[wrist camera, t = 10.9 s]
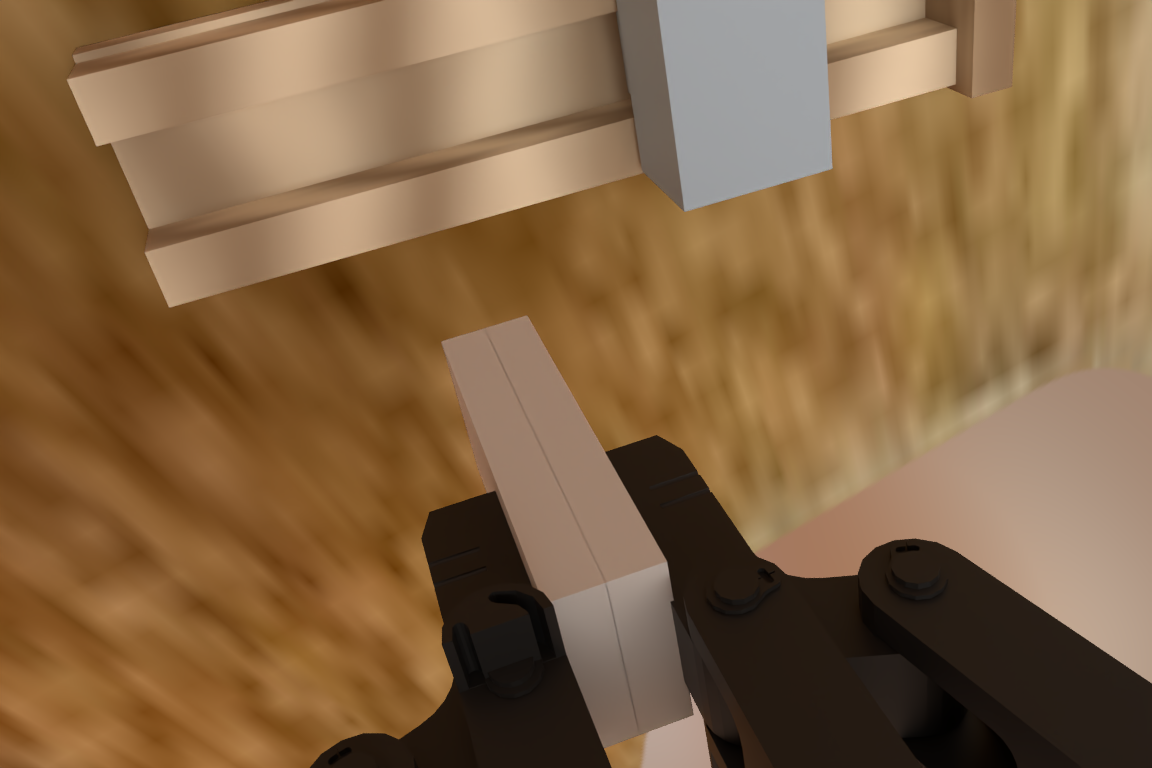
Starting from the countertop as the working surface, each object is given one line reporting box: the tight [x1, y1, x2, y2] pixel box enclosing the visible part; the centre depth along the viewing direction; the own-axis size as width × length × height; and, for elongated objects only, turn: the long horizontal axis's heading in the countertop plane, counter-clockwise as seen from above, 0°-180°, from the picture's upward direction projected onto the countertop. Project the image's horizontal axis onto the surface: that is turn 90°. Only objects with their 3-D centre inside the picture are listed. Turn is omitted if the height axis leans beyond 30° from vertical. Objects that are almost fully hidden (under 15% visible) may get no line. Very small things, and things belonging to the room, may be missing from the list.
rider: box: [616, 0, 832, 212], centre depth 33 cm, size 5×7×6 cm
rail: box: [67, 0, 1016, 308], centre depth 34 cm, size 30×8×4 cm, turn 101°
